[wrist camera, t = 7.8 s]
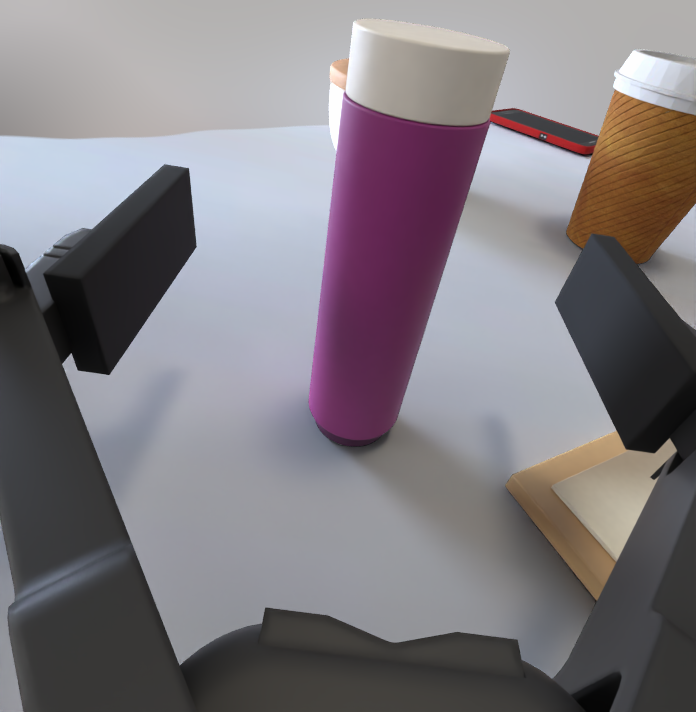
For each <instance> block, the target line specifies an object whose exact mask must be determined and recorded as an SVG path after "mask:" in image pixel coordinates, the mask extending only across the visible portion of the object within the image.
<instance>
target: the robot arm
mask: <svg viewBox="0 0 696 712" xmlns="http://www.w3.org/2000/svg"><path fill="white" fill-rule="evenodd" d="M196 247H197V246H196V236H195V226H194V216H193V205H192V195H191V185H190V174H189V168H184V167H178V166H171V165H165V164H164V165H163V166H162V167H161V168H160V169H159V170H158V171H157V172H156V173H154V174H153V175H152V176H151V177H150V178H149V179H148V180H147V181H146V182H144V183H143V184H142V185H141V186H140V187H139V188H138V189H137V190H135V191H134V192H133V193H132V194H131V195H130V196H129V197H128V198H127V199H125V200H124V201H123V202H122V203H121V204H120V205H119V206H118V207H117V208H115V209H114V210H113V211H112V212H111V213H110V214H109V215H108V216H106V217H105V218H104V219H103V220H102V221H101V222H100V223H99V224H98V225H96V226H95V227H94V228H93V229H86V228H82V229H79V230H77V231H75V232H72V233H70V234H67V235H65V236H64V237H63V238H61V239H60V240H59V241H58V242H57V243H55V244H54V245H53V248H49V249H48V250H47V251H46V252H45V253H43V254H44V255H43V256H40V257H39V258H38V259H36V260H35V261H34V262H33V263H32V264H30V265H29V266H28V267H27V268H26V269H25V268H24V266H23V263H22V261H21V258H20V256H19V253H18V252H17V251H16V250H15V249H14V248H12V247H9V246H6V245H2V244H0V520H1V525H2V530H3V535H4V540H5V545H6V550H7V555H8V559H9V564H10V569H11V574H12V579H13V584H14V590H15V602H14V603H13V604H11V605H10V606H9V609H8V627H9V635H10V641H11V646H12V651H13V657H14V662H15V668H16V673H17V679H18V684H19V690H20V695H21V700H22V706H23V711H24V712H696V330H695V329H694V328H692V327H691V326H690V325H688V324H687V323H686V322H684V321H683V320H682V319H681V318H680V317H679V316H678V315H677V313H676V312H675V311H674V310H673V308H672V307H671V306H670V305H669V304H668V302H667V301H666V300H665V299H664V297H663V296H662V295H661V294H660V292H659V291H658V290H657V289H656V288H655V286H654V285H653V284H652V283H651V281H650V280H649V279H648V278H647V276H646V275H645V274H644V273H643V272H642V270H641V269H640V268H639V267H638V265H637V264H636V263H635V262H634V261H633V259H632V258H631V257H630V256H629V254H628V253H627V252H626V251H625V249H624V248H623V247H622V246H621V245H620V243H619V242H618V241H617V240H616V238H615V237H611V236H605V235H599V234H593V233H591V235H590V237H589V239H588V241H587V243H586V245H585V247H584V249H583V250H582V252H581V254H580V256H579V258H578V260H577V262H576V264H575V265H574V267H573V269H572V271H571V273H570V275H569V277H568V279H567V280H566V282H565V284H564V286H563V288H562V290H561V292H560V294H559V296H558V297H557V299H556V301H555V304H556V306H557V308H558V310H559V312H560V314H561V316H562V318H563V320H564V323H565V325H566V327H567V329H568V331H569V333H570V335H571V337H572V339H573V341H574V343H575V345H576V347H577V349H578V352H579V354H580V356H581V358H582V360H583V362H584V364H585V366H586V368H587V370H588V372H589V374H590V376H591V378H592V381H593V383H594V385H595V387H596V389H597V391H598V393H599V395H600V397H601V399H602V401H603V403H604V405H605V407H606V410H607V412H608V414H609V416H610V418H611V420H612V422H613V424H614V426H615V428H616V430H617V432H618V434H619V436H620V439H621V441H622V443H623V445H624V447H625V449H626V450H633V451H640V452H647V453H654V454H655V453H656V452H657V451H658V450H659V449H660V448H661V447H662V446H663V444H664V443H665V442H666V441H667V440H668V439H669V438H670V439H671V441H672V443H673V444H674V446H675V448H676V450H677V451H676V452H675V453H674V454H673V455H672V456H671V457H670V458H669V459H668V460H667V461H666V462H665V463H664V464H663V465H662V466H661V467H660V468H659V469H658V470H657V471H656V472H655V473H654V474H653V475H652V476H651V477H650V478H652V479H653V480H655V479H656V478H658V477H659V478H658V480H657V482H656V484H655V486H654V488H653V490H652V492H651V494H650V496H649V498H648V500H647V502H646V504H645V506H644V508H643V510H642V512H641V514H640V516H639V518H638V520H637V522H636V524H635V526H634V528H633V530H632V532H631V534H630V536H629V538H628V540H627V542H626V544H625V546H624V548H623V550H622V552H621V554H620V556H619V558H618V560H617V562H616V564H615V566H614V568H613V570H612V572H611V574H610V576H609V578H608V580H607V582H606V584H605V586H604V588H603V590H602V592H601V594H600V596H599V598H598V600H597V602H596V604H595V606H594V608H593V610H592V612H591V614H590V616H589V618H588V620H587V622H586V624H585V626H584V628H583V630H582V632H581V634H580V636H579V638H578V640H577V642H576V644H575V646H574V648H573V650H572V652H571V654H570V656H569V658H568V660H567V661H566V663H565V665H564V666H563V667H562V669H561V670H560V671H559V672H558V673H557V675H556V676H555V677H554V678H553V679H551V678H550V677H549V676H547V675H546V674H545V673H543V672H542V671H541V670H539V669H537V668H535V667H534V666H532V665H530V664H529V663H527V662H525V661H523V660H521V656H520V650H519V645H518V640H515V639H507V638H499V637H492V636H484V635H476V634H468V633H460V632H454V633H449V634H443V635H438V636H432V637H427V638H421V639H416V640H410V641H405V642H399V643H392V642H388V641H385V640H383V639H381V638H378V637H376V636H374V635H372V634H369V633H367V632H365V631H362V630H360V629H358V628H355V627H353V626H351V625H349V624H346V623H344V622H342V621H339V620H337V619H335V618H332V617H330V616H327V615H319V614H312V613H304V612H296V611H288V610H280V609H273V608H265V612H264V617H263V622H262V624H258V625H252V626H247V627H244V628H241V629H238V630H235V631H232V632H230V633H228V634H225V635H223V636H221V637H219V638H217V639H215V640H214V641H212V642H210V643H209V644H207V645H205V646H204V647H202V648H201V649H199V650H198V651H197V652H196V653H194V654H193V655H192V656H191V657H189V658H188V659H187V660H185V661H184V662H183V663H182V664H181V665H180V666H179V663H178V661H177V658H176V656H175V653H174V650H173V648H172V645H171V643H170V640H169V638H168V635H167V632H166V630H165V627H164V625H163V622H162V620H161V617H160V614H159V612H158V609H157V607H156V604H155V602H154V599H153V597H152V594H151V591H150V589H149V586H148V584H147V581H146V579H145V576H144V573H143V571H142V568H141V566H140V563H139V561H138V558H137V556H136V553H135V550H134V548H133V545H132V543H131V540H130V538H129V535H128V532H127V530H126V527H125V525H124V522H123V520H122V517H121V514H120V512H119V509H118V507H117V504H116V502H115V499H114V497H113V494H112V491H111V489H110V486H109V484H108V481H107V479H106V476H105V473H104V471H103V468H102V466H101V463H100V461H99V458H98V455H97V453H96V450H95V448H94V445H93V443H92V440H91V438H90V435H89V432H88V430H87V427H86V425H85V422H84V420H83V417H82V414H81V412H80V409H79V407H78V404H77V402H76V399H75V396H74V394H73V391H72V389H71V386H70V384H69V381H68V379H67V376H66V373H65V371H64V368H63V366H62V363H63V362H64V361H65V360H66V359H67V357H68V356H69V355H70V354H71V353H72V356H73V358H74V361H75V364H76V367H77V369H78V370H79V371H86V372H92V373H99V374H106V375H110V373H111V372H112V370H113V369H114V367H115V366H116V364H117V363H118V362H119V360H120V359H121V357H122V356H123V354H124V353H125V351H126V350H127V348H128V347H129V345H130V344H131V342H132V341H133V339H134V338H135V337H136V335H137V334H138V332H139V331H140V329H141V328H142V326H143V325H144V323H145V322H146V320H147V319H148V317H149V316H150V314H151V313H152V312H153V310H154V309H155V307H156V306H157V304H158V303H159V301H160V300H161V298H162V297H163V295H164V294H165V292H166V291H167V290H168V288H169V287H170V285H171V284H172V282H173V281H174V279H175V278H176V276H177V275H178V273H179V272H180V270H181V269H182V267H183V266H184V265H185V263H186V262H187V260H188V259H189V257H190V256H191V254H192V253H193V251H194V250H195V248H196Z"/></svg>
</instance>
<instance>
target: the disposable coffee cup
mask: <svg viewBox="0 0 696 712" xmlns="http://www.w3.org/2000/svg"><path fill="white" fill-rule="evenodd" d="M614 76H615V77H616V80H615V83H614V85H613V87H614V88H615V91H614V94H613V96H612V99H611V102H610V106H609V108H608V111H607V114H606V117H605V120H604V123H603V126H602V128H601V132H600V135H599V137H598V140H597V143H596V146H595V149H594V152H593V155H592V157H591V161H590V164H589V166H588V170H587V173H586V175H585V178H584V182H583V184H582V187H581V190H580V193H579V195H578V199H577V201H576V204H575V207H574V210H573V213H572V216H571V219H570V222H569V225H568V227H567V231H566V232H567V235H568V237H569V238H570V239H571V240H572V241H573V242H574V243H575V244H576V245H578V246H579V247H581V248H582V249H584V247H585V245H586V243H587V241H588V239H589V237H590V235H591V233H593V234H599V235H605V236H611V237H615V238H616V240H617V241H618V242H619V243H620V245H621V246H622V247H623V248H624V249H625V251H626V252H627V253H628V254H629V256H630V257H631V258H632V259H633V261H634V262H635V263H636V264H639V263H645V262H646V261H648V260H649V259H650V257H651V256H652V255H653V254H654V252H655V251H656V250H657V249H658V248H659V246H660V245H661V244H662V243H663V242H664V240H665V239H666V238H667V237H668V236H669V235H670V233H671V232H672V231H673V230H674V229H675V227H676V226H677V225H678V224H679V223H680V221H681V220H682V219H683V218H684V217H685V216H686V214H687V213H688V212H689V211H690V209H691V208H692V207H693V206H694V205H695V204H696V58H692V57H687V56H682V55H676V54H671V53H665V52H659V51H652V50H643V49H634V51H633V52H632V53H631V55H630V56H629V58H628V59H627V61H626V62H625V63H624V65H623V66H622V68H621V69H619V70H616V71H615V74H614Z"/></svg>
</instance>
